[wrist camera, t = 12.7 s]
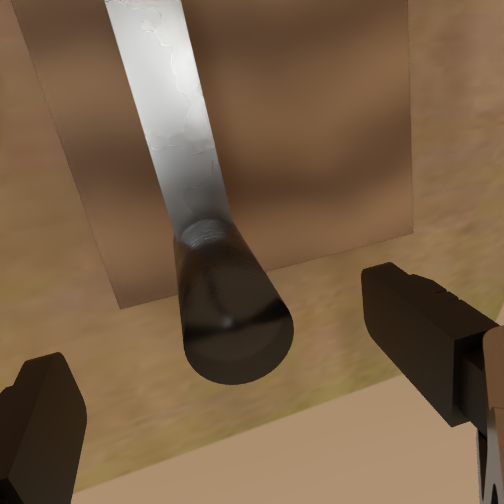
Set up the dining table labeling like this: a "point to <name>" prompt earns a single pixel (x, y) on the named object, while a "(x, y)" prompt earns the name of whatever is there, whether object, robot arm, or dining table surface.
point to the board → (240, 128)
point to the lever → (198, 203)
